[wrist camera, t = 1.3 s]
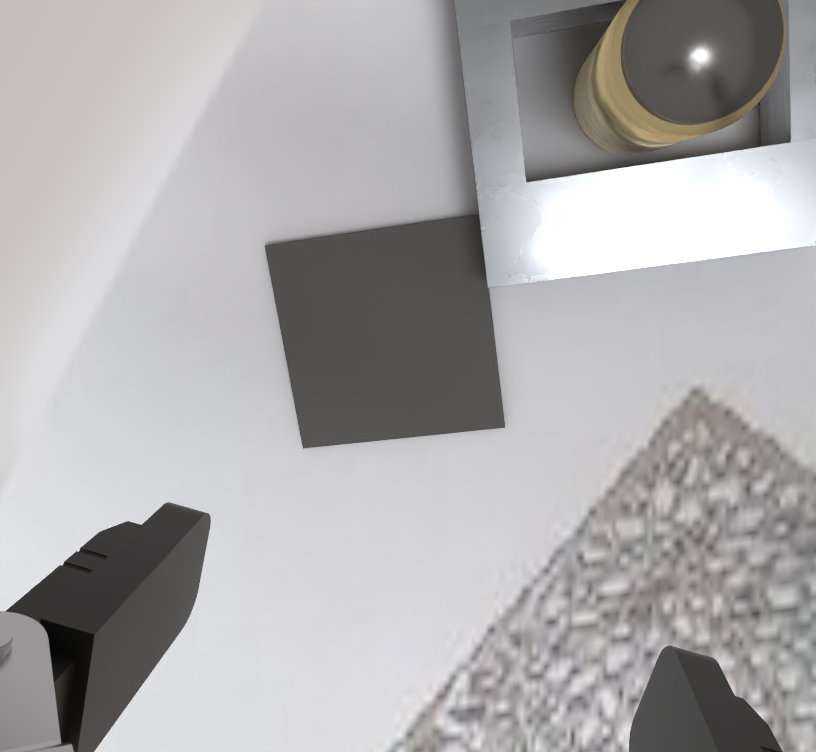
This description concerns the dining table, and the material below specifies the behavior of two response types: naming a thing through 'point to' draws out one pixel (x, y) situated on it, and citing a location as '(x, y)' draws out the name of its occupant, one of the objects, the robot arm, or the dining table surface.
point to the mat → (388, 332)
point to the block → (638, 185)
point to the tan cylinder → (677, 71)
